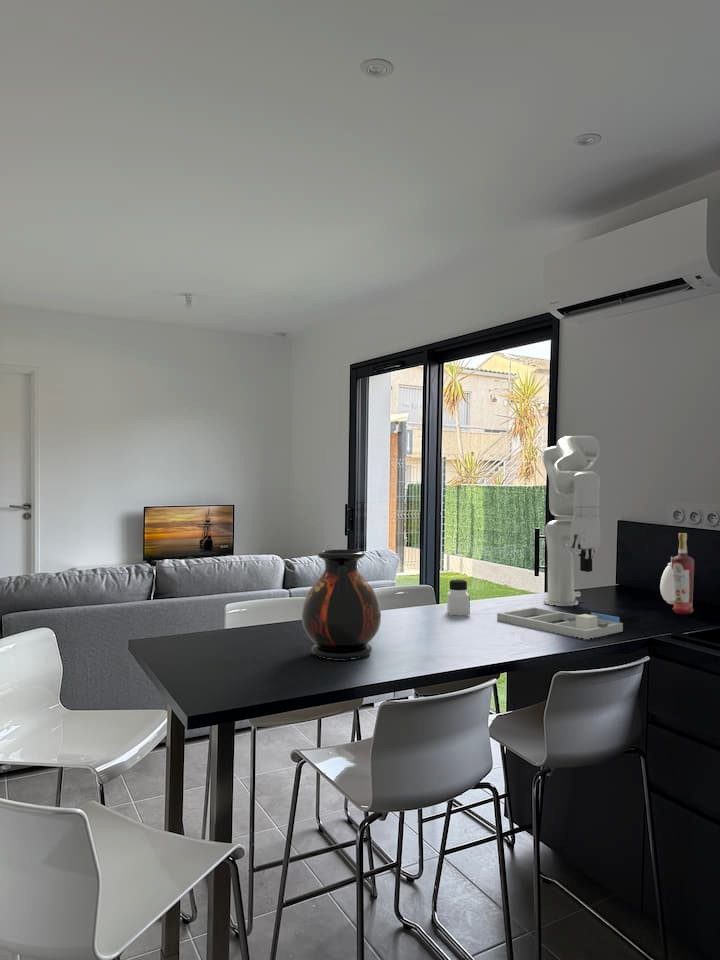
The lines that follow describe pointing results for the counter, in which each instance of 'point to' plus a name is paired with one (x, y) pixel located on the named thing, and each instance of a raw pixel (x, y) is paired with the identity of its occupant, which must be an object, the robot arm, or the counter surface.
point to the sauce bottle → (667, 584)
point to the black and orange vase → (341, 608)
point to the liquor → (683, 578)
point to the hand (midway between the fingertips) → (586, 571)
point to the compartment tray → (568, 627)
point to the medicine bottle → (458, 598)
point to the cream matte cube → (586, 621)
